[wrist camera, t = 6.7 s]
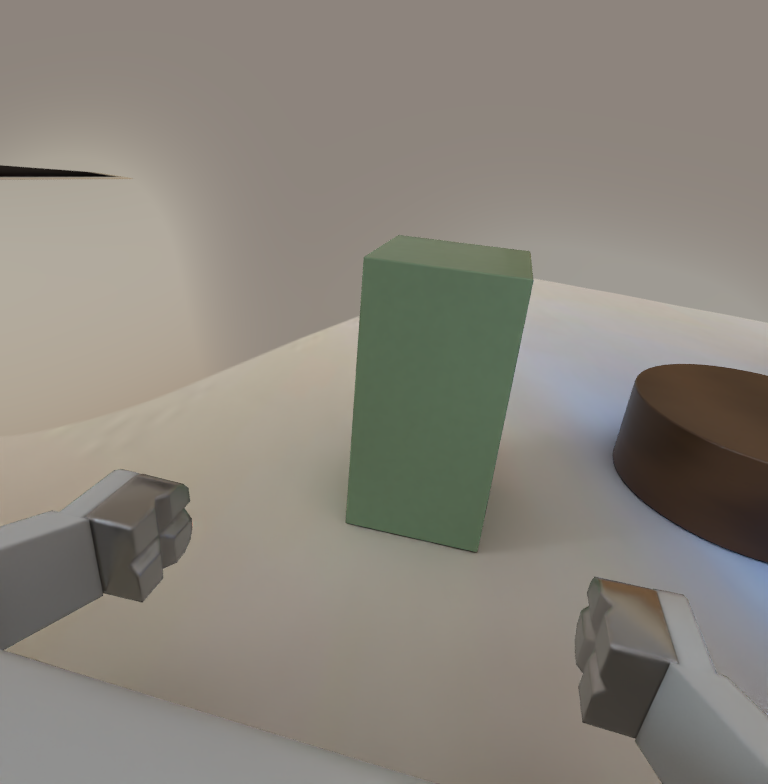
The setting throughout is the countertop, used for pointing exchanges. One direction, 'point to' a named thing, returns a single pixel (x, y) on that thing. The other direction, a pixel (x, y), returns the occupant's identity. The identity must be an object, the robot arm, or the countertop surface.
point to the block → (433, 385)
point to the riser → (700, 452)
